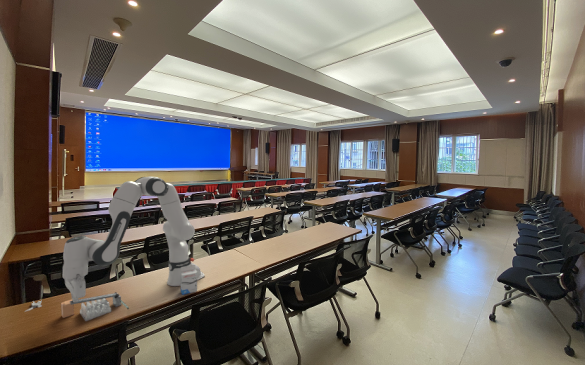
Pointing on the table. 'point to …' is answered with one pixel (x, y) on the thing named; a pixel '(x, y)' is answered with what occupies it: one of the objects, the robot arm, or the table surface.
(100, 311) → the heatsink
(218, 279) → the table surface
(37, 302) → the pliers
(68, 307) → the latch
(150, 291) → the table surface
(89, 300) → the strap
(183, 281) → the ink box
